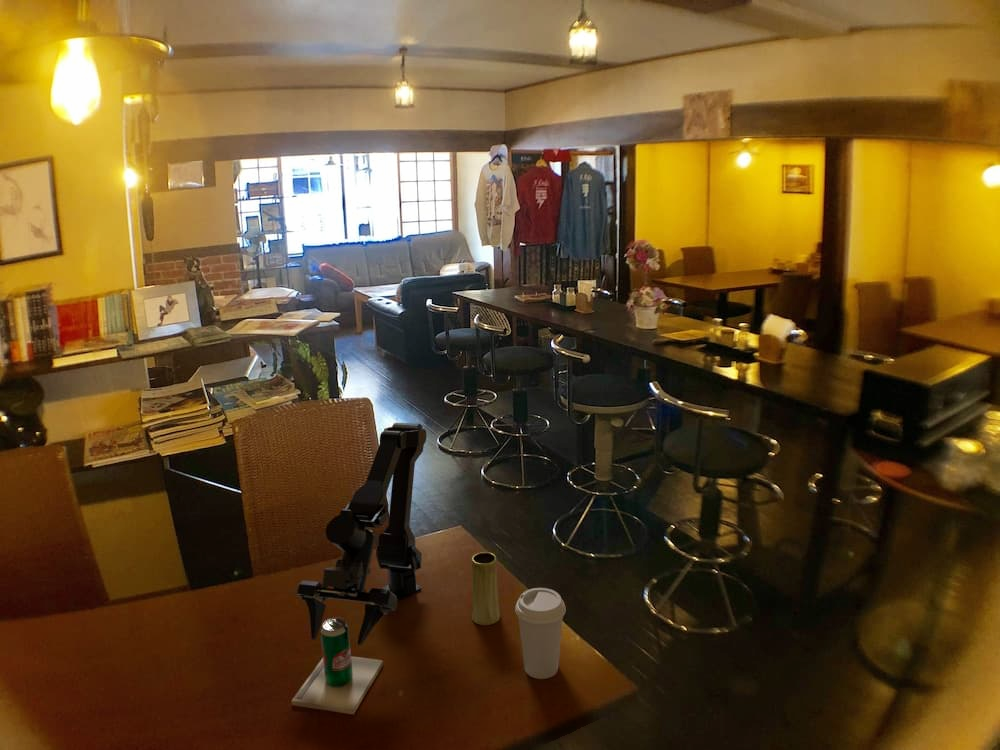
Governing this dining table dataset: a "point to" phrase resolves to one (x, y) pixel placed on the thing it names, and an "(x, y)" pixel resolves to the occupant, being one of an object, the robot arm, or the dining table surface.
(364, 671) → the white rectangular tray
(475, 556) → the vase
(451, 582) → the dining table surface
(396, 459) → the robot arm
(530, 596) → the coffee cup
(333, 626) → the soda can
